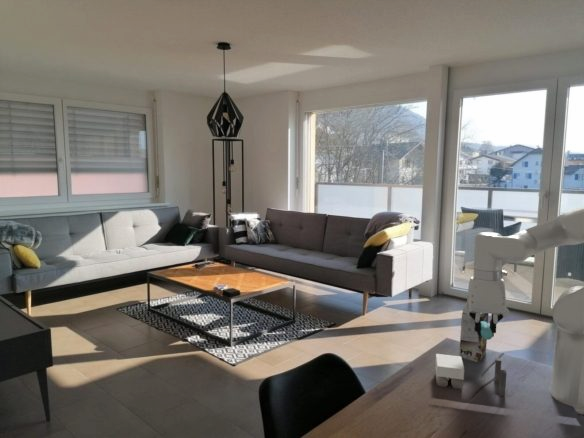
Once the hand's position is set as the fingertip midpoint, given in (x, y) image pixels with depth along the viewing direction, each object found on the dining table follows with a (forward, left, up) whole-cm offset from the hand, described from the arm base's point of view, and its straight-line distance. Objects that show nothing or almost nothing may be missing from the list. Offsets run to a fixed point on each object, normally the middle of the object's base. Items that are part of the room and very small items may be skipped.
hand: (485, 333), depth 128 cm
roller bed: (+5, +10, -13) cm, 17 cm away
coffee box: (+1, -10, -13) cm, 17 cm away
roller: (0, 0, +1) cm, 1 cm away
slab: (+10, +10, -8) cm, 17 cm away
